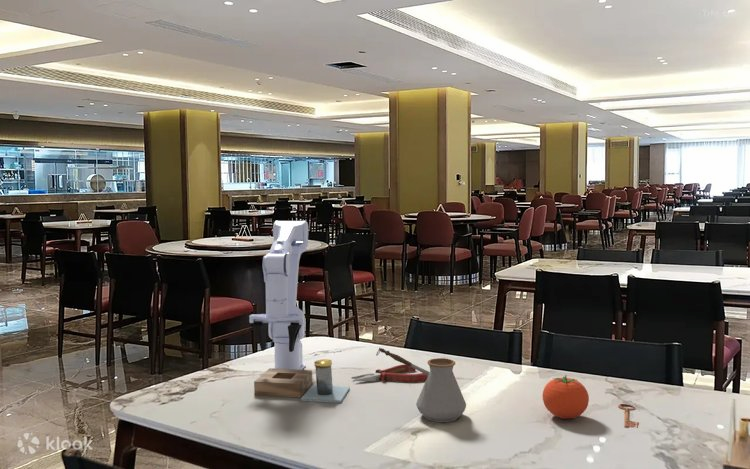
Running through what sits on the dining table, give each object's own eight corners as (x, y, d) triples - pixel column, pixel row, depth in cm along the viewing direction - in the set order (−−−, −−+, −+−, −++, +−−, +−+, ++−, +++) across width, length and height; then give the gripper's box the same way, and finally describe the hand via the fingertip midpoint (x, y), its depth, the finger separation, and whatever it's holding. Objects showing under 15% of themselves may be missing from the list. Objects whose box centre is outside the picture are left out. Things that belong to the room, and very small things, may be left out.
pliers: (346, 377, 184) (346, 368, 184) (414, 371, 190) (414, 362, 190) (358, 390, 173) (358, 380, 173) (429, 383, 179) (429, 373, 179)
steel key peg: (315, 395, 165) (313, 364, 164) (317, 390, 169) (315, 359, 169) (333, 394, 165) (331, 363, 164) (334, 389, 169) (332, 358, 169)
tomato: (586, 411, 155) (587, 370, 154) (589, 427, 145) (591, 383, 144) (542, 408, 157) (542, 367, 157) (542, 423, 148) (542, 379, 147)
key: (644, 433, 144) (643, 410, 158) (645, 429, 144) (644, 406, 158) (616, 427, 146) (618, 405, 160) (616, 423, 146) (618, 401, 160)
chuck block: (269, 380, 179) (269, 368, 179) (312, 383, 177) (312, 370, 177) (254, 394, 168) (254, 381, 167) (300, 397, 166) (299, 383, 165)
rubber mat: (312, 387, 174) (312, 385, 174) (349, 389, 172) (349, 386, 172) (301, 400, 163) (301, 398, 163) (340, 403, 161) (340, 400, 161)
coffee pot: (470, 410, 156) (470, 348, 155) (461, 428, 145) (461, 361, 144) (383, 401, 162) (383, 341, 161) (369, 417, 152) (368, 353, 150)
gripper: (244, 301, 169) (245, 353, 170) (299, 302, 167) (300, 355, 168) (254, 296, 176) (255, 346, 177) (306, 297, 174) (307, 348, 175)
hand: (277, 350), depth 173 cm, fingers open, 7 cm apart
